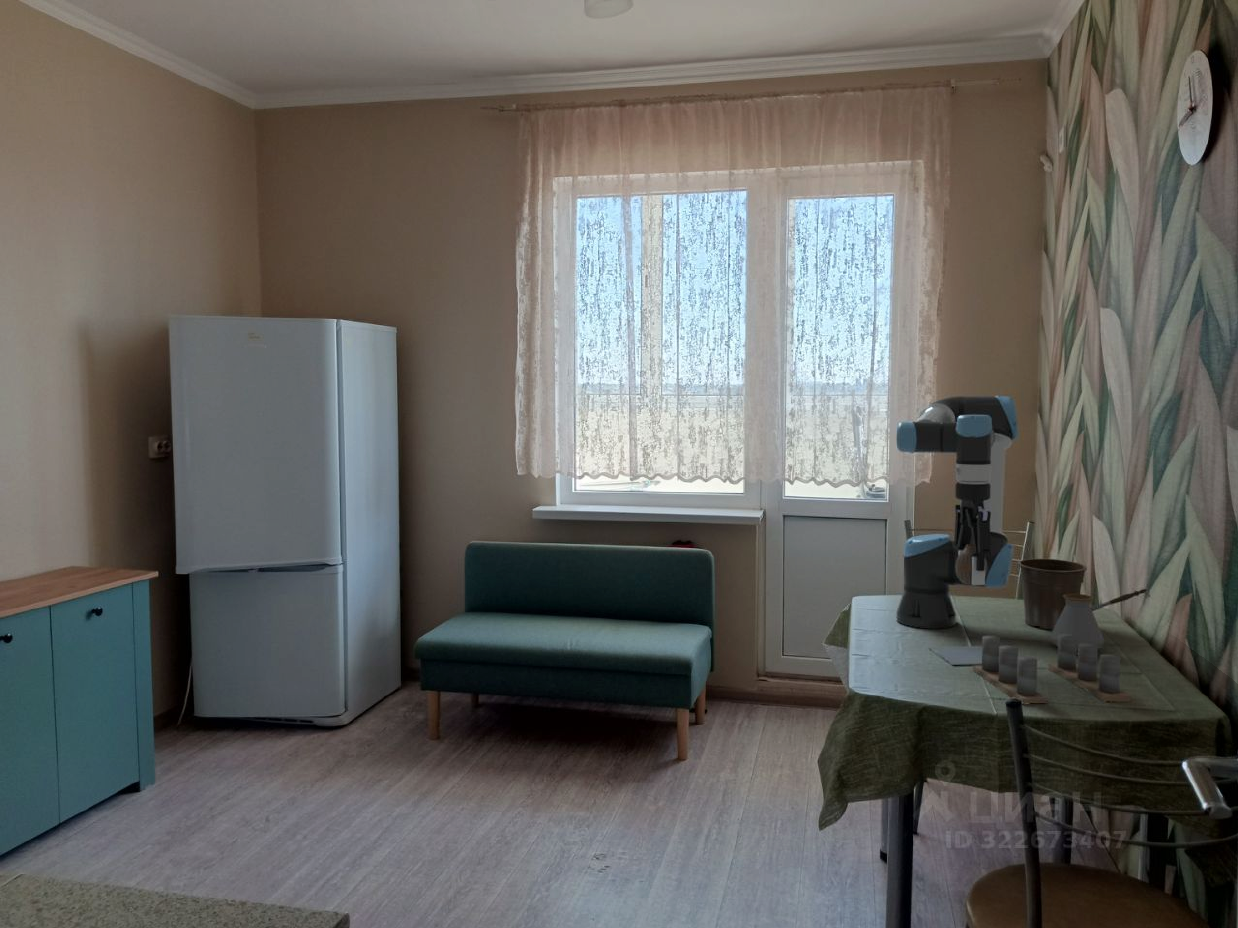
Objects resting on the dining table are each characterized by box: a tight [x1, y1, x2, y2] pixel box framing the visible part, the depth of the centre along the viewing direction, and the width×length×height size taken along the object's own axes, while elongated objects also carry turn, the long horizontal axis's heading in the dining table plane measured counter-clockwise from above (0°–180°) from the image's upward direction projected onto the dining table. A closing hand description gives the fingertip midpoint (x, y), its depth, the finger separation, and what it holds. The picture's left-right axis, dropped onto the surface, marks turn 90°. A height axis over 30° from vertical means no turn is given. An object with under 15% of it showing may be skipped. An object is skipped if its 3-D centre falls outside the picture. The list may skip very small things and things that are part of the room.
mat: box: [928, 645, 982, 666], centre depth 216 cm, size 14×14×1 cm
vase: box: [955, 544, 987, 584], centre depth 214 cm, size 7×7×9 cm
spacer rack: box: [972, 634, 1131, 705], centre depth 194 cm, size 22×22×8 cm
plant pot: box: [1018, 558, 1088, 631], centre depth 243 cm, size 16×16×16 cm
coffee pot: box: [1049, 588, 1151, 653], centre depth 219 cm, size 21×12×15 cm, turn 81°
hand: (971, 580), depth 215 cm, fingers closed on vase, 7 cm apart
